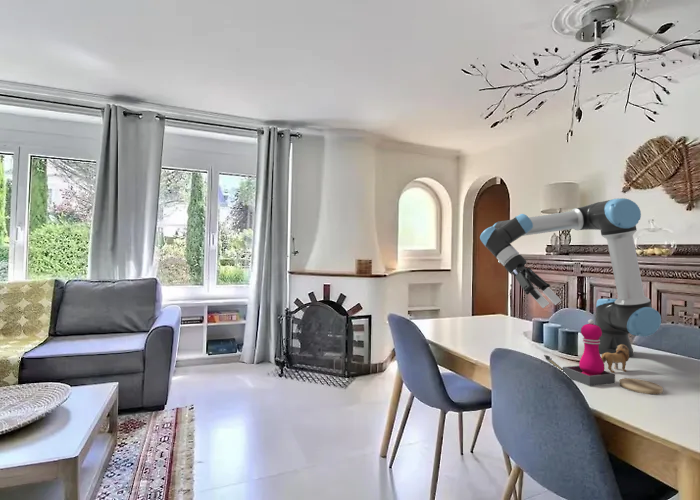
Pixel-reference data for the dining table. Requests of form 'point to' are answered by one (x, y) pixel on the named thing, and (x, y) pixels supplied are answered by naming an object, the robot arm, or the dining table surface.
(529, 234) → the robot arm
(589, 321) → the pepper mill
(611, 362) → the lion figurine
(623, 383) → the cork coaster
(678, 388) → the dining table surface
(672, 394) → the dining table surface
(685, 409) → the dining table surface
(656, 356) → the dining table surface
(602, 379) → the dark gray square tray
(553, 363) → the paintbrush
